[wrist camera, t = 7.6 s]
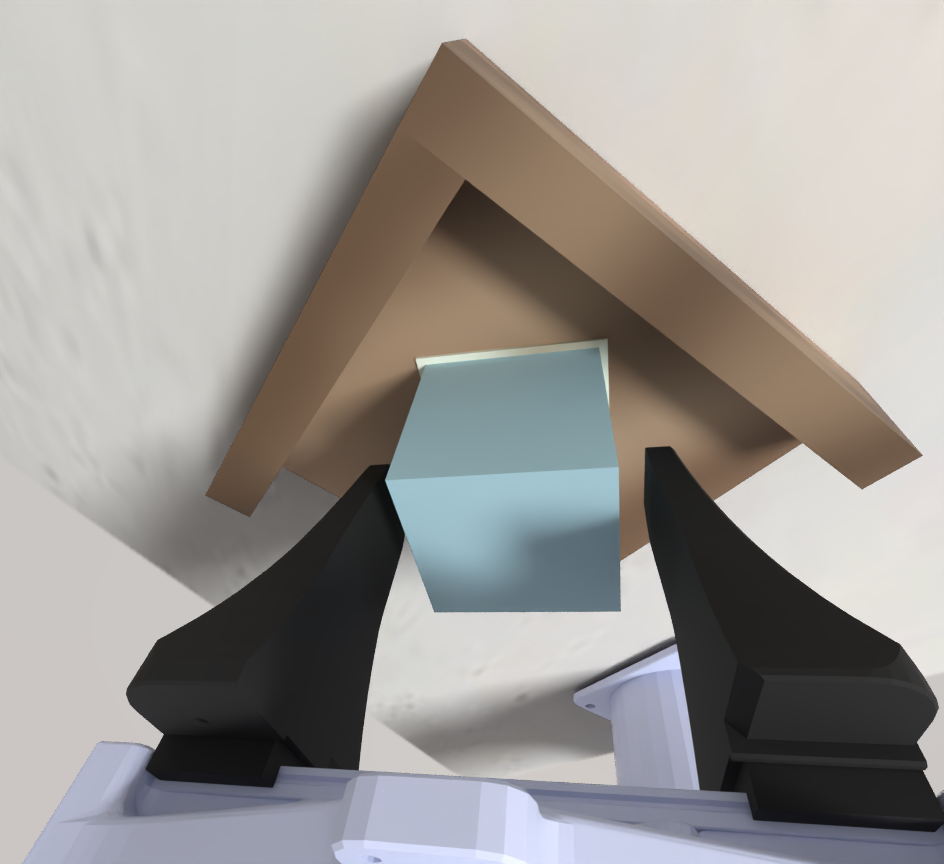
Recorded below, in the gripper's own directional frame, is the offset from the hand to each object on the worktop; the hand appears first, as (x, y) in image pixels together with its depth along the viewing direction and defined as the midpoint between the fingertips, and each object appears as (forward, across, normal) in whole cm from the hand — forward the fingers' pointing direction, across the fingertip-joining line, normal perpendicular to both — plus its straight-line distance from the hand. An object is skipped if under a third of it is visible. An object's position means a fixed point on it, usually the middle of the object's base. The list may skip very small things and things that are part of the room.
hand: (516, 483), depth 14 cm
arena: (+3, 0, 0) cm, 3 cm away
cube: (+3, 0, 0) cm, 3 cm away
